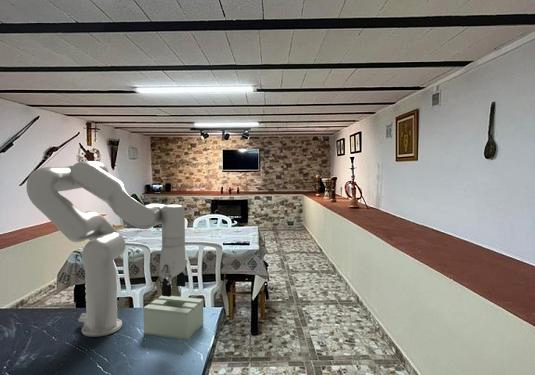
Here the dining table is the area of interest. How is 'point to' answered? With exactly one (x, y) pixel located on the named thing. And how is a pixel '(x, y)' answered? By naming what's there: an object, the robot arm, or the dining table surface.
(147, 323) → the box
